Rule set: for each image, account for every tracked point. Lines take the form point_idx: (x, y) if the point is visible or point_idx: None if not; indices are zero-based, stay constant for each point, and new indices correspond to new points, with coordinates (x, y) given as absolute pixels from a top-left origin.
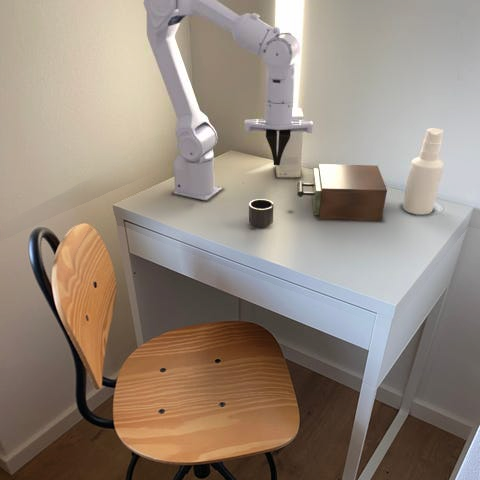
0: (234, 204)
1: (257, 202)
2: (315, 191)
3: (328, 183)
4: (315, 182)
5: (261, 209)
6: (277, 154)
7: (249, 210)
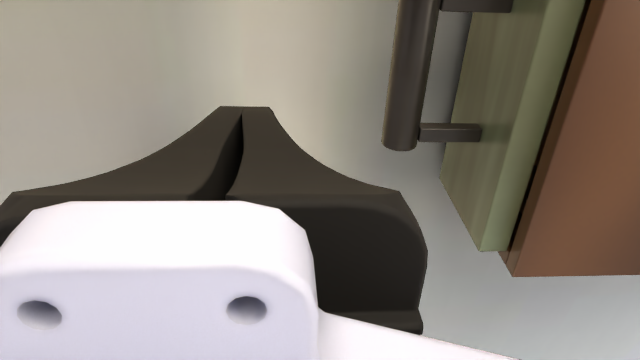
0: (26, 43)
1: None
2: (479, 207)
3: (571, 219)
4: (508, 149)
5: None
6: (243, 143)
7: None
